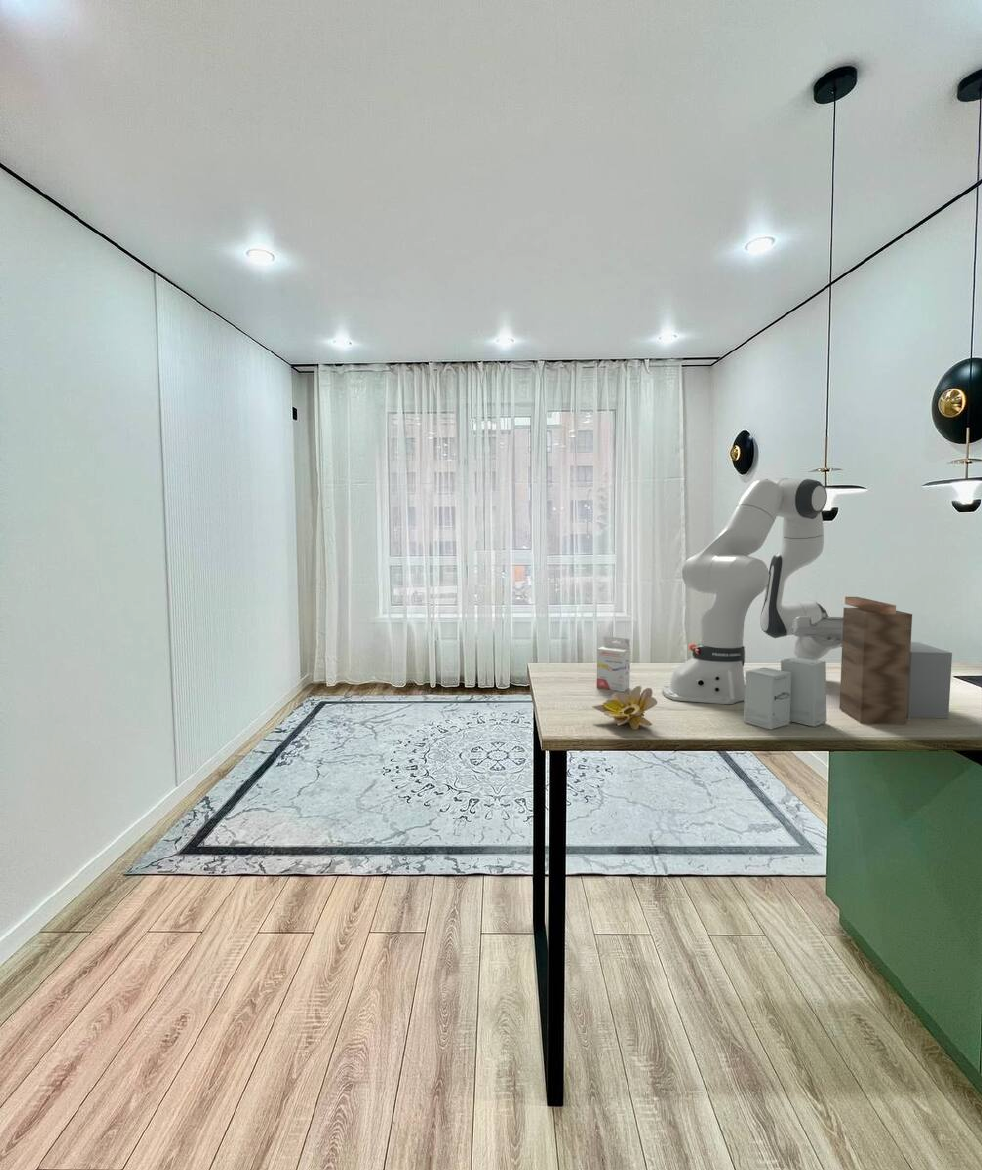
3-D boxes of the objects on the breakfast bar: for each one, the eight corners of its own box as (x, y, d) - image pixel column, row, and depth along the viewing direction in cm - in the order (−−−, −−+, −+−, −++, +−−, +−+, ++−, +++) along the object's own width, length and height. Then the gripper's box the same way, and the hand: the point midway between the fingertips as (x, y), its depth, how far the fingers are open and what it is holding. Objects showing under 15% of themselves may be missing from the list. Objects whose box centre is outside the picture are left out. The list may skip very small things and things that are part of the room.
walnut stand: (860, 723, 147) (865, 613, 145) (839, 708, 159) (843, 607, 157) (906, 724, 145) (912, 614, 143) (881, 710, 157) (886, 608, 155)
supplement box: (771, 730, 142) (773, 676, 141) (742, 722, 148) (744, 670, 147) (790, 725, 146) (792, 672, 145) (762, 717, 152) (763, 666, 151)
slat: (881, 613, 144) (882, 605, 144) (844, 604, 164) (845, 596, 164) (895, 614, 144) (896, 605, 144) (857, 604, 164) (857, 596, 163)
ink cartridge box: (595, 688, 181) (596, 638, 180) (602, 684, 186) (602, 635, 184) (623, 692, 177) (624, 640, 176) (630, 688, 181) (630, 638, 180)
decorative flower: (583, 709, 153) (593, 670, 153) (623, 715, 157) (633, 677, 156) (611, 732, 139) (622, 689, 138) (654, 738, 142) (665, 697, 142)
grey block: (908, 717, 151) (911, 652, 150) (877, 700, 167) (880, 641, 165) (948, 718, 150) (952, 652, 149) (913, 701, 166) (916, 641, 164)
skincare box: (826, 723, 147) (829, 661, 145) (812, 728, 143) (815, 664, 142) (792, 715, 154) (794, 655, 152) (778, 719, 150) (780, 658, 149)
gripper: (784, 623, 184) (799, 604, 172) (858, 624, 181) (879, 605, 169) (787, 643, 181) (803, 625, 169) (862, 645, 179) (884, 627, 166)
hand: (842, 615), depth 169 cm, fingers open, 8 cm apart
